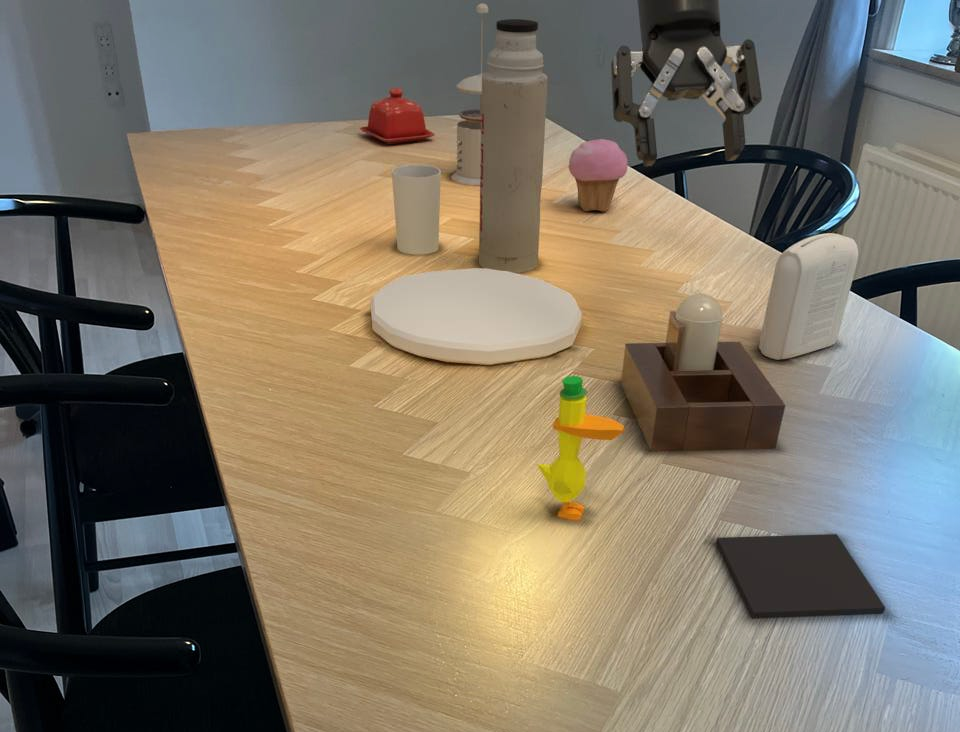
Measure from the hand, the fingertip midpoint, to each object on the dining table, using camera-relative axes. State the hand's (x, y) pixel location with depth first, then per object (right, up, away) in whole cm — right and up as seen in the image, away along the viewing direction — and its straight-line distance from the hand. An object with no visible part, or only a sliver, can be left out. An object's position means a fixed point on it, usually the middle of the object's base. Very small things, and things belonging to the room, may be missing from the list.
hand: (692, 160), depth 95 cm
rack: (+1, -24, +2) cm, 25 cm away
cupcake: (-3, +20, +57) cm, 61 cm away
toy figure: (-13, -36, -13) cm, 41 cm away
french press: (-21, +32, +71) cm, 81 cm away
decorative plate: (-21, -10, +20) cm, 31 cm away
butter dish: (-37, +49, +92) cm, 111 cm away
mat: (+4, -42, -20) cm, 47 cm away
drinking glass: (-29, +8, +41) cm, 51 cm away
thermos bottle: (-17, +4, +37) cm, 41 cm away
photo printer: (+15, -14, +16) cm, 26 cm away
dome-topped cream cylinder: (0, -22, +5) cm, 23 cm away
